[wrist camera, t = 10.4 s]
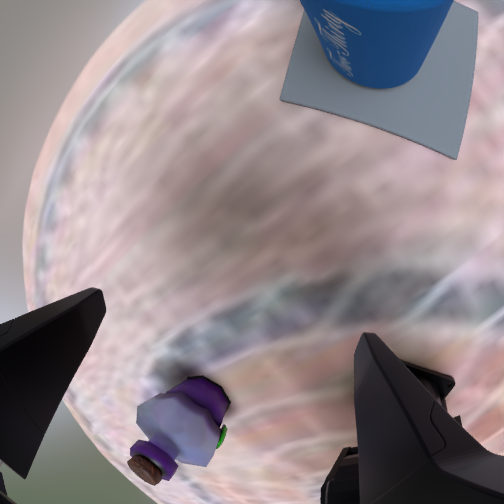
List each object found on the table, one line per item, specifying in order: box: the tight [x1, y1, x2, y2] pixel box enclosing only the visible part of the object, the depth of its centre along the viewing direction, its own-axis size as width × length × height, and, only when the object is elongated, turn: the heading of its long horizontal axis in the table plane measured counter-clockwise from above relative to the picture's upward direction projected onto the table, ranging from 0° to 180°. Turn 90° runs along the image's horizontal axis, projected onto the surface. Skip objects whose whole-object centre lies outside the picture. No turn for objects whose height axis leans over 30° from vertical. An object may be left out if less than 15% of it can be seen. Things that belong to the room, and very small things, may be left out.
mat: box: [280, 1, 478, 160], centre depth 14 cm, size 12×12×1 cm
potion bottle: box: [127, 376, 231, 485], centre depth 23 cm, size 9×9×12 cm
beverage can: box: [300, 0, 454, 89], centre depth 9 cm, size 6×6×12 cm
